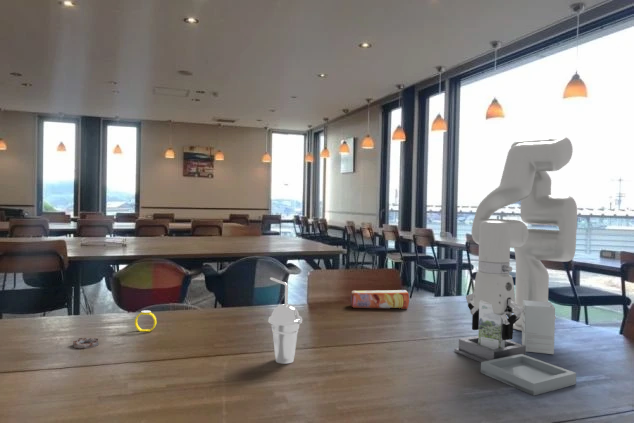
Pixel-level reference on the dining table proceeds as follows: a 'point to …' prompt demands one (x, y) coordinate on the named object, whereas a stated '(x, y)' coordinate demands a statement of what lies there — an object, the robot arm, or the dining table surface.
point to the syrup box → (490, 327)
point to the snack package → (380, 299)
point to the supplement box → (538, 326)
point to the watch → (145, 312)
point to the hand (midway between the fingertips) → (491, 334)
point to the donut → (85, 343)
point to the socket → (487, 349)
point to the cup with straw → (284, 329)
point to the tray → (528, 374)
